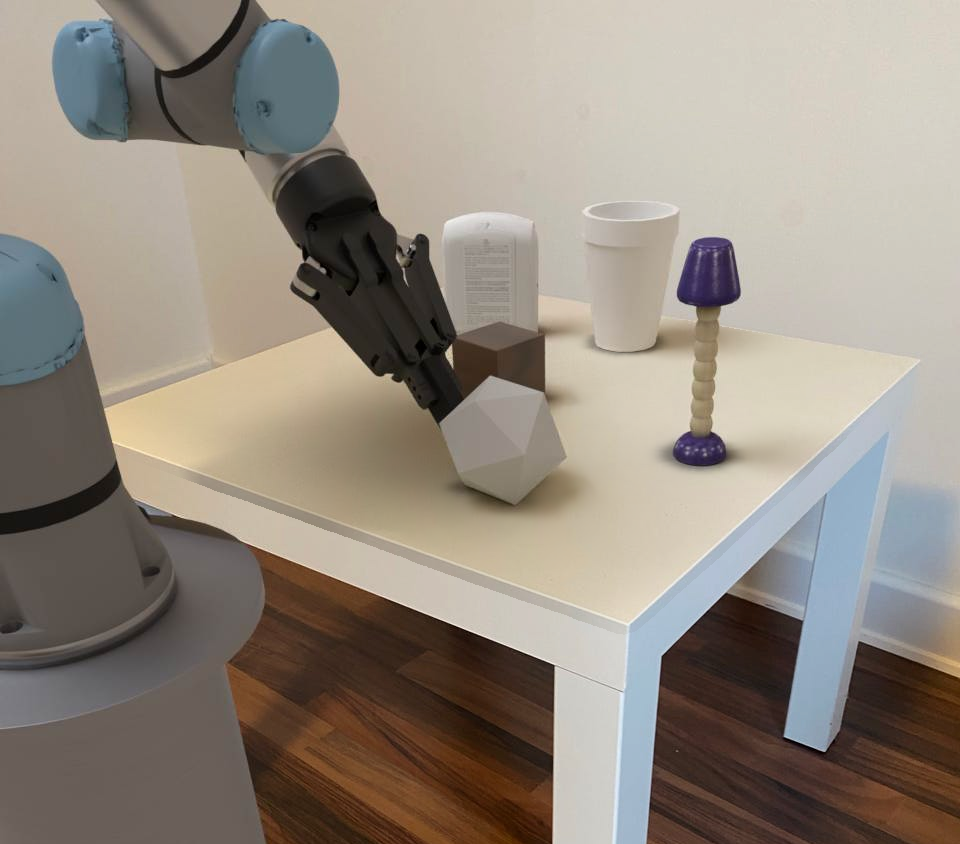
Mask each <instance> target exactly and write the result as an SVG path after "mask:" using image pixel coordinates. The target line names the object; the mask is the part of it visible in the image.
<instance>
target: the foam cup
mask: <svg viewBox="0 0 960 844" xmlns="http://www.w3.org/2000/svg"><path fill="white" fill-rule="evenodd" d="M680 211H681V210H680V208H679V207H677V206H676V205H675V204H671V203H667V202H662V201H655V200H641V199H640V200H637V199H636V200H615V201H614V200H613V201H607V202H600V203H596V204H592V205H589V206H586V207H585V208H583V210H581V233H580V235H581V238H582V239H583V247H584V253H585V263H586V264H585V265H586V273H587V283H588V291H589V292H588V293H589V301H590V310H591V319H592V321H591V322H592V329H593V337H594V343H595V346H597V347H598V348H600V349H603V350H606V351H611V352H618V353H633V352H640V351H645V350H648V349H650V348H652V347H654V345H655V344H656V342H657V337H658V333H659V328H660V324H661V323H660V322H661V319H662V318H661V317H662V312H663V307H664V302H665V295H666V290H667V285H668V280H669V275H670V269H671V264H672V258H673V254H674V253H673V252H674V249H675V244H676V239H677V237H678V236H679V227H680Z"/></svg>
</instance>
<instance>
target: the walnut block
mask: <svg viewBox="0 0 960 844" xmlns="http://www.w3.org/2000/svg"><path fill="white" fill-rule="evenodd" d="M451 353H452V368H453V369H454V371H455V373H456V374H457V376H458V378H459V379H460V381H461V383H462V386H463V390H462V391H461V392H460V393H461V394H462V396H463V398H464V399H466V398H467V397H468V396H469V395H470V394H471V393H472V392H473V391H474V390H475V389H476V388H477V387H478V386H479V385H481V384H482V383H483V382H484V381H485V380H486V379H487V378H488V377H489V376H493V377H496V378H500V379H503V380H506V381H509V382H512V383H515V384H518V385H522V386H525V387H528V388H531V389H534V390H537V391H541V392H544V394H545V395H546V334H545V333H541V332H539V331H538V332H535V331H531V330H528V329H524V328H521V327H517V326H514V325H510V324H507V323H503V322H496V323H493V324H490V325H487V326H484V327H481V328H478V329H475V330H472V331H468V332H465V333H462V334H459V335H457V338H456V339H455V341H454V342H453V343H452V345H451Z"/></svg>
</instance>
